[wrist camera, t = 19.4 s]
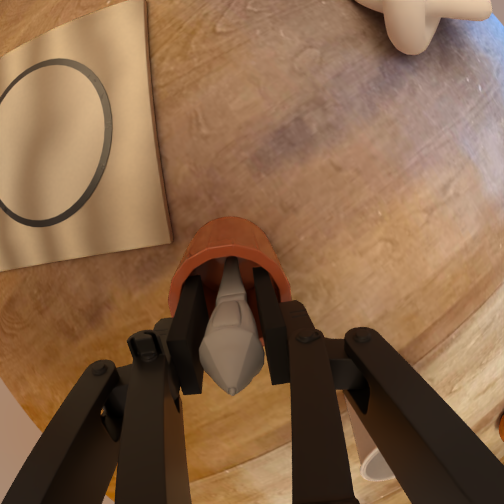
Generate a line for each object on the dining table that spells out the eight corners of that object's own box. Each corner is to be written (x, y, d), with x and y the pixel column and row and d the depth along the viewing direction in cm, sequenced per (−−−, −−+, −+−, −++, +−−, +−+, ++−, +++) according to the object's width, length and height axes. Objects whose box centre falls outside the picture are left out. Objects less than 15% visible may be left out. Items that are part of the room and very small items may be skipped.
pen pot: (196, 301, 24) (183, 360, 17) (181, 223, 22) (156, 255, 15) (276, 290, 24) (295, 346, 17) (267, 210, 23) (285, 236, 15)
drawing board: (-7, 270, 22) (-13, 274, 21) (-28, 81, 17) (-35, 80, 15) (174, 240, 23) (171, 244, 22) (146, 1, 17) (143, -5, 16)
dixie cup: (334, 422, 30) (359, 492, 20) (328, 369, 27) (361, 447, 18) (401, 398, 30) (438, 458, 20) (405, 343, 27) (457, 406, 18)
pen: (217, 279, 23) (203, 423, 10) (211, 245, 22) (185, 367, 9) (250, 275, 23) (274, 415, 10) (245, 240, 22) (266, 357, 9)
